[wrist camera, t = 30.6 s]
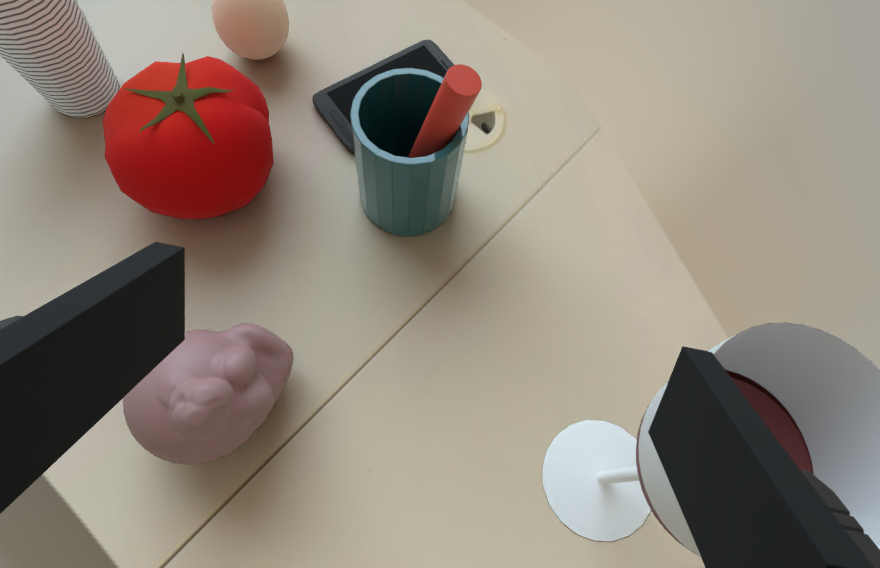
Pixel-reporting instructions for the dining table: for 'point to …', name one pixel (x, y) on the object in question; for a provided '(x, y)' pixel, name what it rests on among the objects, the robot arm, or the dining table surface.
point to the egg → (251, 26)
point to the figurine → (208, 393)
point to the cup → (57, 54)
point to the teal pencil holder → (403, 153)
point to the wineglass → (775, 400)
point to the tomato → (189, 138)
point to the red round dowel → (447, 110)
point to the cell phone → (340, 95)
